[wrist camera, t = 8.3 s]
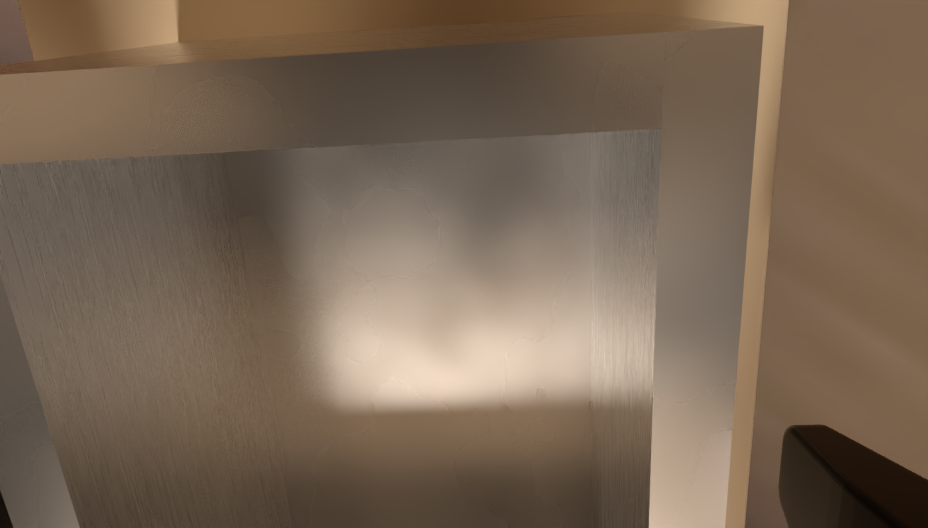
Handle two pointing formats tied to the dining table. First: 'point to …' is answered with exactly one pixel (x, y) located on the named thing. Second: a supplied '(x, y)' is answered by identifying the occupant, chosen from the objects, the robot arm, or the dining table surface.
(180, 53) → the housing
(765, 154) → the stand
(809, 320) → the dining table surface
